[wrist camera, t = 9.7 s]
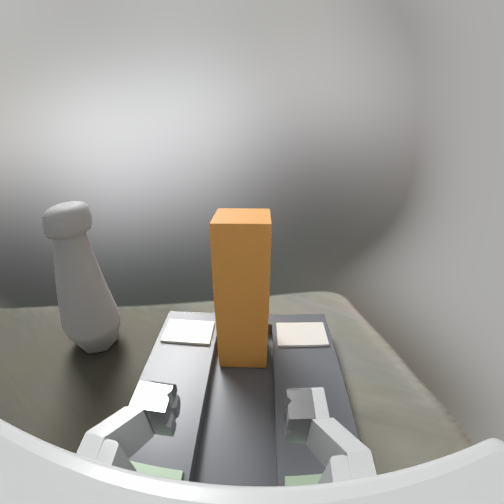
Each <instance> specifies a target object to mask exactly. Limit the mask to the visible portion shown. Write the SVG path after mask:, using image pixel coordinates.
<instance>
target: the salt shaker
mask: <svg viewBox="0 0 504 504" xmlns="http://www.w3.org/2000/svg"><path fill="white" fill-rule="evenodd" d="M91 225H92V215H91V211H90V208H89V206H88V205H87V204H86V203H85V202H81V201H70V202H65V203H61V204H57V205H55V206H53V207H51V208H49V209H48V210H46V212H45V213H44V215H43V217H42V226H43V230H44V233H45V235H46V237H47V238H48V239H52V241H53V258H54V270H55V280H56V289H57V296H58V304H59V311H60V317H61V323H62V328H63V330H64V332H65V333H66V335H67V336H68V337H69V339H70V340H72V341H73V342H74V343H75V344H77V345H78V346H79V347H80V348H82V349H83V350H84V351H86V352H87V353H88V354H90V353H96V352H102V351H107V350H108V349H109V348H110V347H111V346H112V345H113V344H114V342H115V341H116V340H117V338H118V333H119V327H120V316H119V310H118V307H117V305H116V303H115V301H114V299H113V297H112V295H111V293H110V290H109V288H108V286H107V284H106V282H105V279H104V277H103V275H102V272H101V270H100V268H99V265H98V263H97V260H96V258H95V255H94V253H93V250H92V248H91V245H90V243H89V240H88V237H87V234H86V232H87V231H88V230H89V229H90V228H91Z"/></svg>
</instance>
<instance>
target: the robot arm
mask: <svg viewBox="0 0 504 504" xmlns="http://www.w3.org/2000/svg"><path fill="white" fill-rule="evenodd" d="M177 390H178V389H177V386H176V384H172V383H165V382H158V381H151V380H145V379H141V380H140V381H139V382H138V384H137V387H136V389H135V391H134V394H133V396H132V399H131V401H130V403H129V406H128V407H126V406H125V407H123V408H122V409H120V410H119V411H117V412H116V413H114V414H113V415H111V416H110V417H108V418H107V419H105V420H104V421H102V422H101V423H99V424H97V425H96V426H94V427H93V428H91V429H90V430H88V431H87V432H86V433H85V435H84V437H83V439H82V442H81V444H80V446H79V448H78V450H77V453H76V454H75V453H73V452H70V451H67V450H65V449H62V448H60V447H57V446H55V445H52V444H50V443H48V442H45V441H43V440H41V439H39V438H37V437H34V436H32V435H30V434H28V433H26V432H24V431H22V430H20V429H18V428H16V427H14V426H12V425H10V424H9V423H7V422H5V421H3V420H1V419H0V504H504V442H503V441H501V440H499V439H496V438H490V439H487V440H485V441H482V442H480V443H478V444H476V445H473V446H471V447H468V448H466V449H463V450H461V451H458V452H456V453H453V454H450V455H448V456H445V457H442V458H439V459H436V460H433V461H430V462H427V463H423V464H420V465H416V466H413V467H409V468H406V469H402V470H398V471H394V472H389V473H385V474H380V475H377V474H376V470H375V466H374V462H373V458H372V454H371V450H370V449H369V448H368V447H366V446H365V445H364V444H363V443H362V442H361V441H359V440H358V439H357V438H356V437H355V436H354V435H353V434H351V433H350V432H349V431H348V430H347V429H346V428H345V427H343V426H342V425H341V424H340V423H339V422H338V421H337V420H336V419H335V418H330V415H329V410H328V405H327V400H326V395H325V391H324V388H323V387H315V388H288V389H286V390H285V401H284V408H283V420H284V423H285V427H284V438H285V443H306V445H307V446H308V447H309V449H310V450H311V451H312V452H313V454H314V455H315V456H316V457H317V458H318V460H319V461H320V462H321V463H322V464H323V465H324V467H325V470H324V472H323V474H322V476H321V478H320V480H319V482H318V484H313V485H299V486H232V485H218V484H207V483H198V482H190V481H183V480H176V479H170V478H165V477H159V476H154V475H149V474H145V473H140V472H136V469H135V467H134V466H133V464H132V463H131V462H130V460H129V459H130V458H131V457H132V456H133V455H134V454H135V453H136V452H137V451H138V450H139V449H141V448H142V447H143V446H144V445H145V444H146V443H147V442H148V441H149V440H150V439H151V438H152V437H153V436H154V434H155V435H162V436H170V437H174V434H175V430H176V426H177V424H176V421H175V419H176V418H178V417H179V414H180V407H181V403H180V397H179V396H178V395H177V394H176V393H177Z"/></svg>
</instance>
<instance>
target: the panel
mask: <svg viewBox="0 0 504 504" xmlns="http://www.w3.org/2000/svg"><path fill="white" fill-rule="evenodd" d="M141 379H145V380H151V381H158V382H165V383H172V384H176V386H177V389H178V390H177V393H176V394H177V395H178V396H179V397H180V403H181V407H180V414H179V417H178V418H176V419H175V421H176V424H177V426H176V430H175V434H174V437H170V436H162V435H155V434H154V436H153V437H152V438H151V439H150V440H149V441H148V442H147V443H146V444H145V445H144V446H143V447H142V448H141V449H139V450H138V451H137V452H136V453H135V454H134V455H133V456H132V457H131V458H130V459H129V460H130V462H131V463H132V464H133V466H134V467H135V469H136V472H140V473H145V474H149V475H154V476H159V477H165V478H170V479H176V480H183V481H190V482H198V483H207V484H218V485H232V486H299V485H313V484H318V482H319V480H320V478H321V476H322V474H323V472H324V470H325V467H324V465H323V464H322V463H321V462H320V461H319V460H318V458H317V457H316V456H315V455H314V454H313V452H312V451H311V450H310V449H309V447H308V446H307V445H306V443H285V438H284V427H285V423H284V420H283V408H284V401H285V390H286V389H288V388H315V387H323V388H324V391H325V395H326V400H327V405H328V410H329V415H330V418H335V419H336V420H337V421H338V422H339V423H340V424H341V425H342V426H343V427H345V428H346V429H347V430H348V431H349V432H350V433H351V434H353V435H354V436H355V437H356V438H357V439H358V440H359V437H358V433H357V429H356V425H355V421H354V417H353V413H352V409H351V405H350V402H349V398H348V394H347V391H346V387H345V383H344V380H343V376H342V373H341V369H340V366H339V362H338V359H337V355H336V352H335V348H334V345H333V342H332V338H331V335H330V332H329V328H328V325H327V322H326V319H325V316H324V314H302V315H269V319H268V343H267V366H266V368H249V367H221V366H219V356H218V344H217V332H216V320H215V313H196V312H177V311H170V312H169V314H168V316H167V319H166V321H165V323H164V325H163V327H162V329H161V332H160V334H159V336H158V338H157V341H156V343H155V345H154V347H153V350H152V352H151V354H150V356H149V359H148V361H147V363H146V365H145V368H144V370H143V372H142V375H141V377H140V379H139V381H140V380H141Z"/></svg>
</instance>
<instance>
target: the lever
mask: <svg viewBox="0 0 504 504" xmlns="http://www.w3.org/2000/svg"><path fill="white" fill-rule="evenodd" d="M210 240H211V260H212V277H213V291H214V306H215V320H216V332H217V344H218V356H219V366H221V367H249V368H266V366H267V343H268V319H269V292H270V260H271V216H270V209H238V208H237V209H236V208H233V209H231V208H228V209H226V208H220V209H217V211H216V213H215V215H214V217H213V218H212V220H211V222H210Z"/></svg>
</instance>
